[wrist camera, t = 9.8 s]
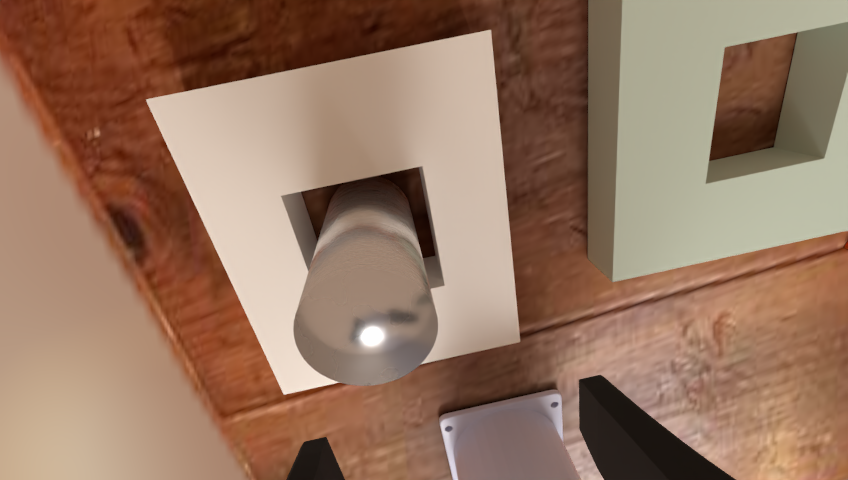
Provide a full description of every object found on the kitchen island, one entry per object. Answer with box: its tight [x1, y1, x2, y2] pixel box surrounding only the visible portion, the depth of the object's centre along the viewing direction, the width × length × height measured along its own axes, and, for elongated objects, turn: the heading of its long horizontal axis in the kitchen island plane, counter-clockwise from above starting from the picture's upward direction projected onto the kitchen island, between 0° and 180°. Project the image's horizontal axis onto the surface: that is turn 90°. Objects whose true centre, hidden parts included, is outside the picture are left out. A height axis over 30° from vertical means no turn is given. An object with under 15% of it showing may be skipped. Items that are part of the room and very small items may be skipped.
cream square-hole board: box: [146, 30, 520, 395], centre depth 18 cm, size 14×12×3 cm
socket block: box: [588, 0, 848, 282], centre depth 18 cm, size 14×14×2 cm
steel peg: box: [293, 176, 438, 386], centre depth 15 cm, size 4×4×9 cm
